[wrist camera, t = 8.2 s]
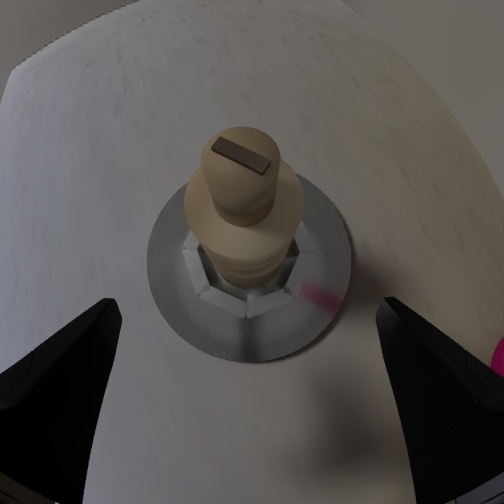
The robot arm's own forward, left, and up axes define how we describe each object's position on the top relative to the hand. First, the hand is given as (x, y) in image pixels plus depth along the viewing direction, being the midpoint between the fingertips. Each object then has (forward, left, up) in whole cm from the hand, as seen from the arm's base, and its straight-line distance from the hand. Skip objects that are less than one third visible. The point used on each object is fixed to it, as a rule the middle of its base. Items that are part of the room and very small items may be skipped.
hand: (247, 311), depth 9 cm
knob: (+4, -2, -11) cm, 12 cm away
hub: (+4, -2, -11) cm, 12 cm away
